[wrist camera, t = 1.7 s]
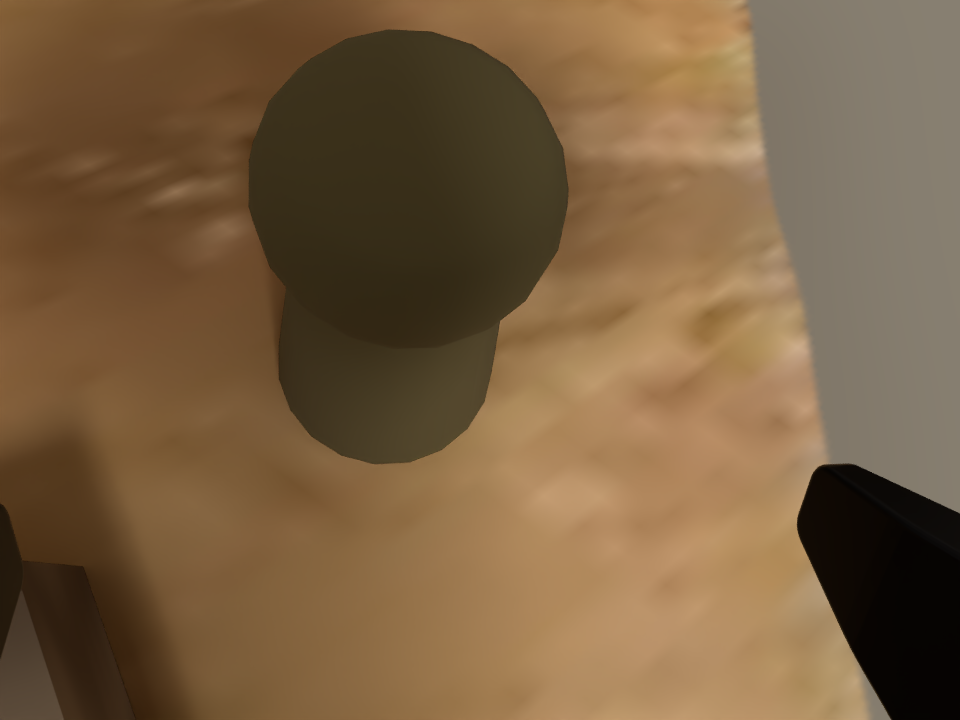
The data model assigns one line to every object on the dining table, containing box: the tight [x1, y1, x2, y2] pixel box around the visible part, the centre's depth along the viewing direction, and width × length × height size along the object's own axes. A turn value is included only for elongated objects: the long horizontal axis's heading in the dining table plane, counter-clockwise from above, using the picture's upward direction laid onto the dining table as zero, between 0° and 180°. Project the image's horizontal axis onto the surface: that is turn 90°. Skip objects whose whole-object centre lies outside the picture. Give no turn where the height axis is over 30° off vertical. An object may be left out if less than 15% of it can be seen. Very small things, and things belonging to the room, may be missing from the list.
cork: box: [249, 30, 568, 464], centre depth 16 cm, size 6×6×11 cm
